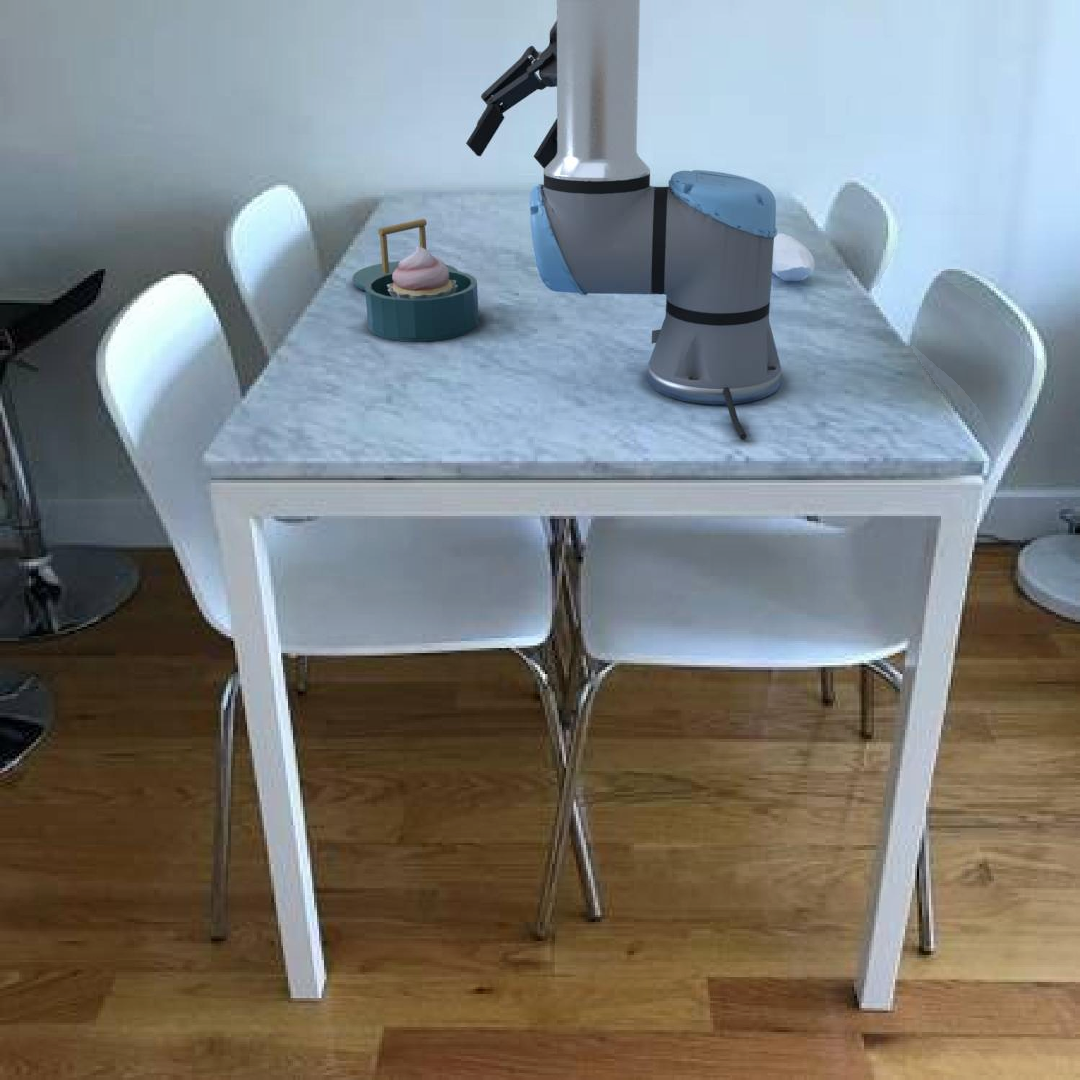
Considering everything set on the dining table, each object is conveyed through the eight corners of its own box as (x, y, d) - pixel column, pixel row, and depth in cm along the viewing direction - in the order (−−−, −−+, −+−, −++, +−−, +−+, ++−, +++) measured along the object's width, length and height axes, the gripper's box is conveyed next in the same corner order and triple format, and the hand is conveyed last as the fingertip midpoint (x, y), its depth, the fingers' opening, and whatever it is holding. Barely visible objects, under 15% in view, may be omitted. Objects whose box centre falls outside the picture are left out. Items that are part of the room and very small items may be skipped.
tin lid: (480, 282, 181) (478, 223, 177) (395, 305, 172) (391, 242, 168) (415, 262, 191) (412, 206, 187) (332, 283, 182) (326, 223, 178)
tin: (500, 323, 164) (499, 283, 161) (413, 349, 155) (410, 307, 152) (432, 301, 173) (430, 262, 171) (346, 324, 165) (343, 284, 162)
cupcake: (419, 306, 170) (415, 233, 165) (473, 317, 165) (470, 242, 160) (374, 323, 163) (367, 248, 158) (428, 336, 158) (423, 259, 153)
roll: (781, 293, 174) (784, 253, 171) (757, 270, 185) (760, 232, 182) (822, 291, 175) (826, 251, 172) (796, 268, 185) (799, 230, 183)
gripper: (668, 52, 161) (586, 187, 159) (538, 39, 177) (462, 161, 175) (641, 11, 155) (556, 150, 153) (509, 1, 171) (431, 127, 169)
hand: (506, 156), depth 164 cm, fingers open, 13 cm apart
